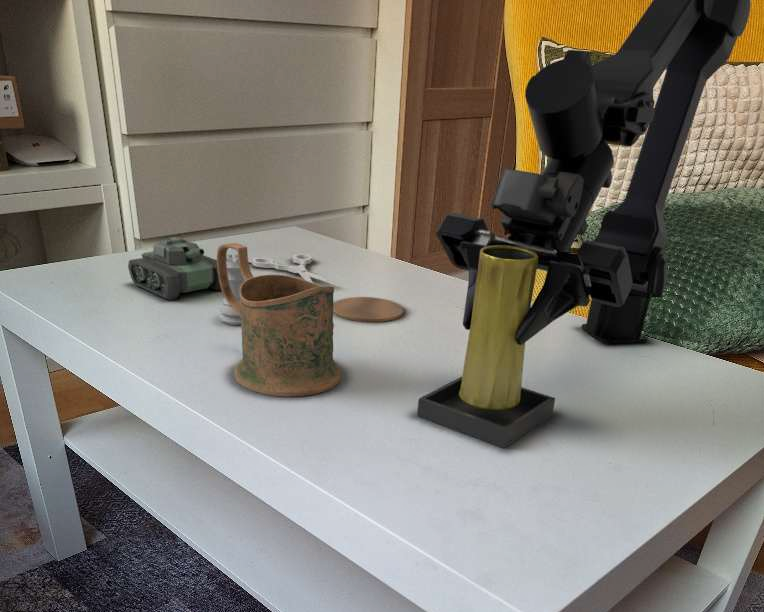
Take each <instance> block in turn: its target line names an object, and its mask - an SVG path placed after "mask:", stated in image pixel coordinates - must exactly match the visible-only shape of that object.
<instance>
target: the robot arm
mask: <svg viewBox="0 0 764 612" xmlns="http://www.w3.org/2000/svg"><path fill="white" fill-rule="evenodd" d="M751 3H752V2H751V0H652V1H651V3H650V4H649V5H648V7H647V8H646V9H645V11H644V13H643V14H642V16H641V17H640V18H639V20H638V21H637V23H636V24H635V26H634V27H633V29H632V30H631V31H630V33H629V34H628V36H627V37H626V39H625V40H624V42H623V43H622V45H621V46H620V48H619V49H618V50H617V51H616V53H614V54H613V55H610V56H608V57H606V58H603V59H601V60H599V61H596V62H594V63H592V57H591V52H590V50H578V49H568V50H567V51H566V53H565V55H564V57H563V59H559V60H556V61H553V62H551V63H550V64H548V65H545V66H544V67H542V69H540V70H539V71H538V72H537V73H535V75H532V76H531V77H530V79H529V80H528V82H527V83H526V84H527V85H526V87H525V91H524V92H525V93H524V97H525V101H526V104H527V109H528V112H529V116H530V119H531V123H532V127H533V131H534V134H535V138H536V141H537V145H538V148H539V151H540V152H541V153H542V155H544V156H545V157H546V158H549V160H548V162H547V164H546V165H545V167H544V169H543V171H542V173H536V172H530V171H525V170H518V169H512V168H503V169H501V173H500V175H499V179H498V182H497V185H496V189H495V190H494V194H493V196H492V199H491V203H490V207H491V208H492V209H493V210H496V209H497V210H498V211H499V212H500V213H502V214H503V215H504V216H503V218H502V220H501V221H500V222H501V225H502V228H503V230H504V231H507V232H508V233H509V234H508V237H507V238H505V237H499V236H496V235H495V234H494V233H492V232H491V231H489V229H488V227H487V224H486V222H485V220H484V218H480V217H476V216H470V215H467V214H466V215H464V214H460V213H455V212H453V213H450V214H446V216H445V217H444V218H443V219H442V221H441V222H440V224H439V227H438V228H437V230H436V232H435V235H436V237H437V239H438V241H439V242H440V245H441V246H442V249H443V250H444V251H445V254H446V256H447V258H448V259H449V261H450V263H451V265H452V266H455V267H456V268H457V269H460V270H465V271H467V272H468V282H467V283H468V284H467V291H466V297H465V304H464V311H463V313H464V314H463V318H462V327H464V329H465V330H467V331H470V326H471V319H472V311H473V303H474V295H475V288H476V281H477V274H478V266H479V256H480V250H481V249H482V248H483V247H487V246H495V245H506V246H516V247H521V248H525V249H529V250H531V251H534V252H535V253H536V254H537V255H538V265H537V270H540V271H545V272H546V275H545V278H544V281H543V284H542V287H541V289H540V290H539V292H538V294H537V296H536V298H535V299H534V301H533V303H532V304H531V308H530V310H529V312H528V313H527V315H526V317H525V319H524V320H523V322H522V324H521V326H520V329H519V331H518V333H517V336H516V338H515V340H516V342H517V344H518V345H522V344H524V343H525V344H526V343H527V342H528V341H529V340H531V339H532V338H533V337H535V336H536V335H537V334H539V333H540V332H541V331H542V330H544V329H545V328H546V327H548V326H549V325H550V324H551V323H553V322H555V321H556V320H557V319H559V318H561V317H562V316H564V315H565V314H567V313H569V312H570V311H572V310H574V309H575V308H577V307H584V308H585V307H588V306H589V308H588V313H587V318H586V323H582V324H581V327H580V328H581V329H582V330H583V331H585V332H587V333H588V334H590V335H591V336H592V337H594V338H596V339H597V340H598V341H600V342H601V343H603V344H605V345H612V344H628V343H629V344H630V343H646V342H648V340H649V337H648V336H646V335H645V334H643V333H642V332H643V328H644V324H645V321H646V317H647V312H648V309H649V305H650V301H651V299H653V298H662V297H663V296H664V291H665V287H666V284H667V279H668V276H669V275H668V263H667V252H666V243H667V240H668V234H667V233H668V232H667V229H666V224H665V223H666V222H665V219H664V214H663V210H664V207H665V205H666V201H667V198H668V195H669V192H670V189H671V186H672V184H673V180H674V177H675V174H676V172H677V170H678V166H679V163H680V160H681V157H682V154H683V151H684V148H685V146H686V143H687V140H688V136H689V133H690V131H691V128H692V124H693V122H694V119H695V116H696V113H697V110H698V107H699V105H700V101H701V98H702V96H703V92H704V89H705V86H706V84H707V81H708V80H709V79H710V78H711V77H712V76H714V74H715V73H716V72H717V71H718V70H719V69H720V68H722V66H723V65H724V64H725V63H727V61H729V59H730V57H731V55H732V52H733V50H734V47H735V45H736V42H737V40H738V37H740V38H741V36H742V35H743V33H744V32H745V29H746V28H747V27H746V26H747V24H748V21H749V17H750V14H751V13H750V12H751V5H752V4H751ZM664 72H665V74H664ZM663 74H664V77H663V80H662V83H661V87H660V88H659V89H660V90H659V92H658V95H657V99H656V101H655V98H654V88H655V87H656V85H657V83H658V81H659V80H660V78H661V77H662V75H663ZM644 134H645V136H644V139H643V142H642V144H641V148H640V152H639V155H638V157H637V159H636V160H637V161H636V164H635V166H634V170H633V173H632V176H631V179H630V183H629V185H628V188H627V191H626V195H625V197H624V199H623V201H622V202H621V203H620V204H619V205H618V206H617V207H616V208H615V209H614V210H611V209H610V210H607V211H606V213H605V214H604V216H602V219H601V223H600V228H599V231H598V233H597V235H596V236H595V238H594V239H593V240H588V239H587V240H586V241H583V242H581V244H580V247H579V248H578V250H577V253H571V252H570V250H571V248H572V246H573V244H574V242H575V240H576V239H577V236H584V235H585V233H586V231H587V229H588V227H589V225H588V221H587V217H588V215H589V213H590V211H591V210H592V208H593V206H594V204H595V202H596V200H597V198H598V196H599V195H600V192H601V190H602V189H603V188H604V189H609V188H610V187H611V185H612V180H613V174H612V169H613V167H614V165H615V159H614V154H613V150H612V148H611V146H610V145H613V146H620V147H632V146H634V145H635V144H636V143H637V141H639V139H640V137H641V136H642V135H644Z"/></svg>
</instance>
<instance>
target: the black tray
mask: <svg viewBox="0 0 764 612" xmlns="http://www.w3.org/2000/svg"><path fill="white" fill-rule="evenodd" d="M461 383H462V376H460V377H457V378H456V379H454V380H452V381H449V382H448V383H446V384H444V385H442V386H440V387H439V388H437V389H435V390H432V391H430V392H429V393H427V394H424V395H423V396H421V397H419V398H418V403H417V413H416V414H417V415H416V416H417V417H419V418H422V419H425V420H427V421H430V422H433V423H435V424H438V425H440V426H443V427H446V428H448V429H450V430H454V431H457V432H459V433H462V434H464V435H468V436H469V437H472V438H476V439H478V440H481V441H484V442H486V443H489V444H491V445H495V446H497V447H499V448H501V449H505V448H507V447H508V446H510V445H512V444H513V443H515V442H516V441H517V440H518V439H520V438H522V437H523V436H524V435H526V434H527V433H528V432H530V431H532V430H533V429H534V428H535V427H537V426H538V425H540V424H542V423H543V422H544V421H546V420H547V419H549V418H550V417H552V416H553V415H554V414H553V413H554V409H555V403H556V397H554V396H551V395H548V394H545V393H541V392H538V391H536V390H535V391H534V390H532V389H529V388H526V387H522V386H521V393H520V402H519V404H518V405H517V406H515V407H513V408H511V409H508V410H502V411H488V410H482V409H477V408H474V407H472V406H470V405H468V404H466V403H464V402H463V401H462V400H461V398H460V396H459V391H460V388H461Z"/></svg>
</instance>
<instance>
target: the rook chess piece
mask: <svg viewBox="0 0 764 612" xmlns="http://www.w3.org/2000/svg"><path fill="white" fill-rule="evenodd" d="M226 263H227V274H228V280H229V284H230V288H231V291H232V293H233V295H234V297H235V298H236V300H237V301H238V302H239V303H240V294H239V289H240V286H241V284H242V283H243V282H244V281H245V279H244V278H243V276H242V273H241V270H240V267H239V261H238V253H234V257H233V254H232V253H228V254H226ZM219 312H220V315H219V320H221V322H222V323H223V324H225V325H229V326H241V318H240V316H239V315H238V313H237V312H236V311H235V310H234V309H233V308H232V307H231V306H230V305H229V303H228V302H227V301H226V299H225V297H224V296H223V300H222V303H221V304H220V305H219Z"/></svg>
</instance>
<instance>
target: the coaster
mask: <svg viewBox="0 0 764 612" xmlns="http://www.w3.org/2000/svg"><path fill="white" fill-rule="evenodd" d="M333 313H334V314H336V315H337V316H339V317H341V318H343V319H346V320H347V319H348V320H351V321H356V322H364V323H381V322H389V321H393V320H397V319H399V318H400V317H402V315H403V313H404V309H403V307H402V305H400V304H399V303H397V302H395V301H392V300H388V299H385V298H379V297H370V296H354V297H346V298H343V299H340V300H337V301H336V302H333Z"/></svg>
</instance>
